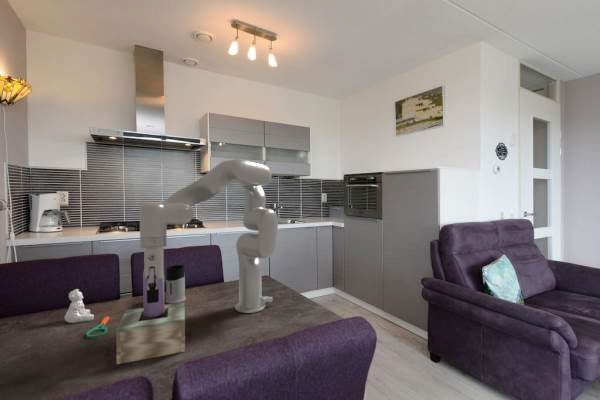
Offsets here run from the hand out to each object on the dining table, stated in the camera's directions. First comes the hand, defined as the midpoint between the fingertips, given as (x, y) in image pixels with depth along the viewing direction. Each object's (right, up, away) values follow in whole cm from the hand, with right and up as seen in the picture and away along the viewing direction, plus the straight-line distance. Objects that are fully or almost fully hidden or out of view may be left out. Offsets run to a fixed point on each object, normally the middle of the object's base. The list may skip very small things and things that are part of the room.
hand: (153, 298), depth 92 cm
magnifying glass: (-25, -16, +12) cm, 32 cm away
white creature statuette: (-39, -15, +20) cm, 46 cm away
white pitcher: (-12, -15, +39) cm, 43 cm away
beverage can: (0, -6, 0) cm, 6 cm away
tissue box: (0, -15, 0) cm, 15 cm away
